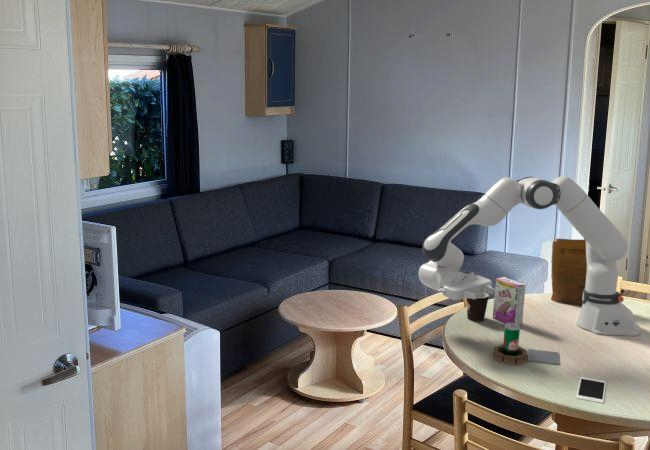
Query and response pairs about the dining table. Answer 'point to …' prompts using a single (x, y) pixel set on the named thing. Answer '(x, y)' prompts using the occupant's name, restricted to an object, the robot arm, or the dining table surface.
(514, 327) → the soda can
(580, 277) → the pancake mix bag
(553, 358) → the coaster
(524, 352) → the walnut ring
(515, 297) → the candy bar box
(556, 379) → the dining table surface
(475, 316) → the coffee mug
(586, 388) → the cell phone
